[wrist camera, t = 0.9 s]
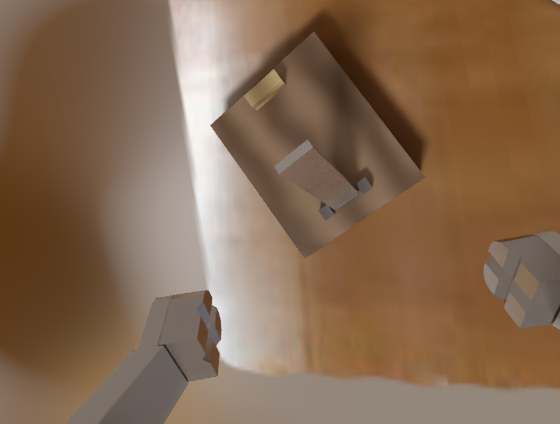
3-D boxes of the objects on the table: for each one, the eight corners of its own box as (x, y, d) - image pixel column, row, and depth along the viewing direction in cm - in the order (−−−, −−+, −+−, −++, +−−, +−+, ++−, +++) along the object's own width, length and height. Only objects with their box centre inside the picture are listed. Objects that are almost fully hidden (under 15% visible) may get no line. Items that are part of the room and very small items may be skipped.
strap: (307, 138, 24) (313, 147, 24) (355, 188, 37) (360, 194, 36) (273, 165, 25) (279, 174, 24) (332, 205, 37) (336, 211, 37)
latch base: (319, 45, 40) (311, 24, 34) (419, 177, 38) (427, 177, 33) (224, 130, 44) (203, 123, 39) (310, 251, 43) (301, 262, 37)
